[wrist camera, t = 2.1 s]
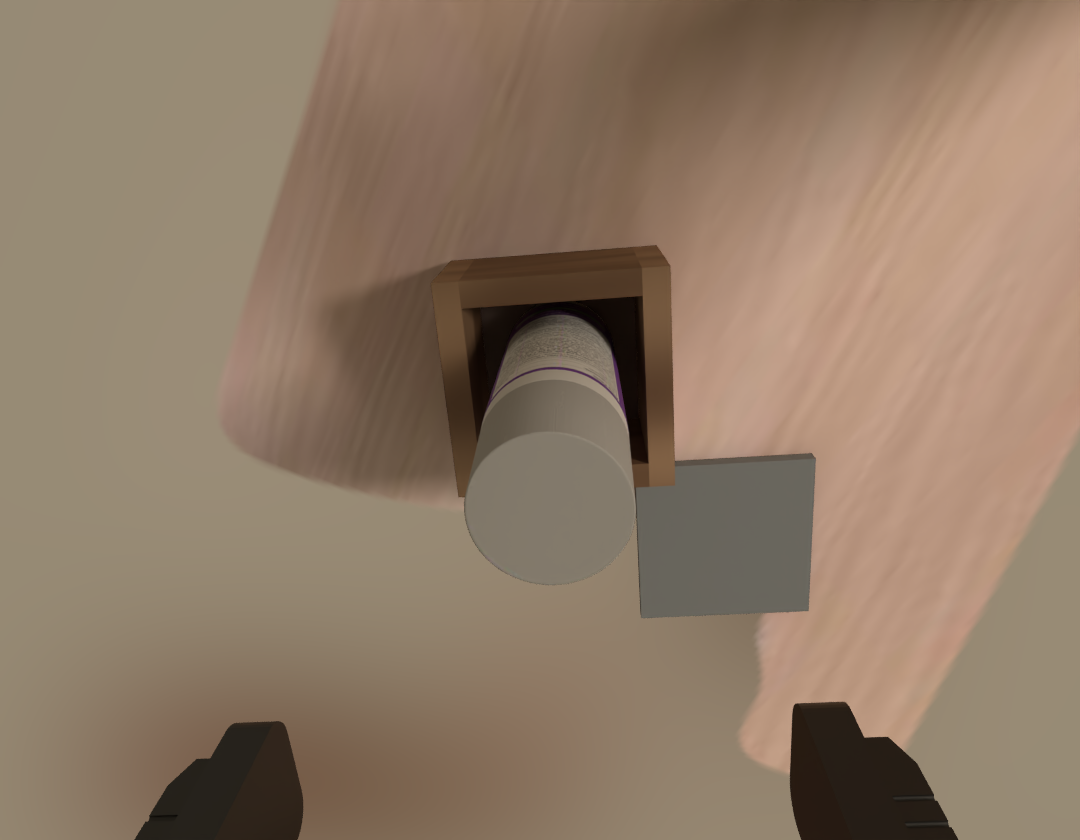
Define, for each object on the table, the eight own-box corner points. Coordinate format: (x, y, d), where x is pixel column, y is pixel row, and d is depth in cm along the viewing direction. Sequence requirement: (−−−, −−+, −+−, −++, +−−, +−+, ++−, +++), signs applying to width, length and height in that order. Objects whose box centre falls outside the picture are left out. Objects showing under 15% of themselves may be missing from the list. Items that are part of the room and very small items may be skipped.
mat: (634, 463, 36) (635, 468, 35) (811, 453, 35) (815, 458, 35) (640, 610, 38) (641, 618, 38) (805, 603, 38) (808, 611, 37)
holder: (451, 260, 33) (430, 283, 28) (656, 245, 32) (670, 265, 27) (473, 448, 36) (458, 497, 31) (661, 437, 35) (675, 485, 30)
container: (585, 419, 35) (592, 615, 21) (490, 377, 35) (432, 549, 20) (632, 326, 33) (674, 472, 19) (533, 281, 33) (501, 397, 19)
